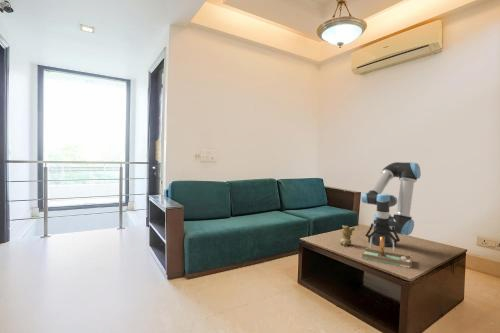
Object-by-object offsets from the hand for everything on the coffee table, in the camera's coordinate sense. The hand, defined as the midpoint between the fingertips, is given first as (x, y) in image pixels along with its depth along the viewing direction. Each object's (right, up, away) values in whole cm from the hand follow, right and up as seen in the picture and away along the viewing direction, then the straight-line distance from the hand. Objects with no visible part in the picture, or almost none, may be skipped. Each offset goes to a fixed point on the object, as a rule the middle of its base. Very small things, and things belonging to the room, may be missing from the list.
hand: (381, 249), depth 176 cm
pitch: (+3, -6, -1) cm, 7 cm away
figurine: (-13, -5, +28) cm, 31 cm away
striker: (0, -5, 0) cm, 5 cm away
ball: (+10, -4, -7) cm, 13 cm away
